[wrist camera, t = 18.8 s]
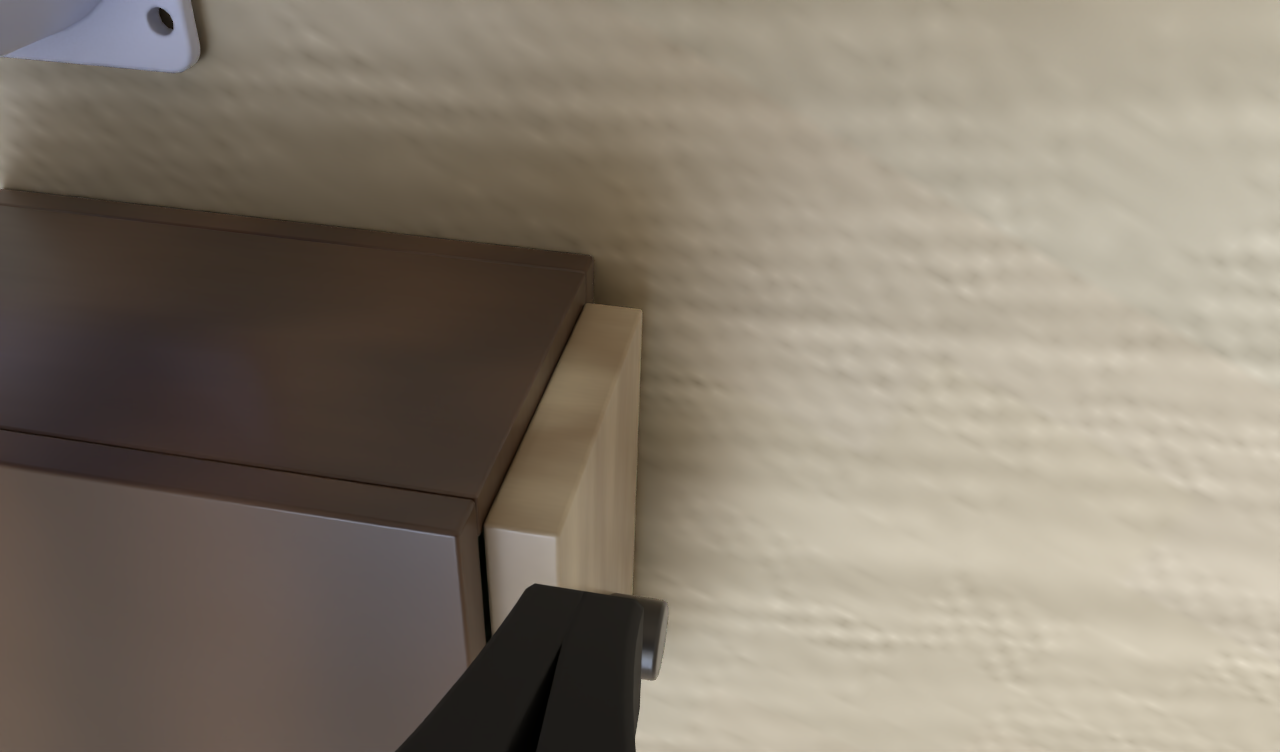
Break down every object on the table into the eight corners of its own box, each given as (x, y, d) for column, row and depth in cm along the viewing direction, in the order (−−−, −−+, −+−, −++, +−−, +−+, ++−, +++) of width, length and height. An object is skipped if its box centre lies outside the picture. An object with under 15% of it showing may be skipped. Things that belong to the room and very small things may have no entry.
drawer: (702, 315, 21) (640, 547, 15) (675, 693, 27) (624, 954, 22) (75, 240, 23) (-185, 423, 17) (188, 610, 29) (24, 831, 23)
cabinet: (594, 254, 22) (459, 534, 14) (592, 666, 29) (500, 989, 22) (-1, 186, 23) (-377, 406, 16) (136, 589, 30) (-87, 864, 23)
